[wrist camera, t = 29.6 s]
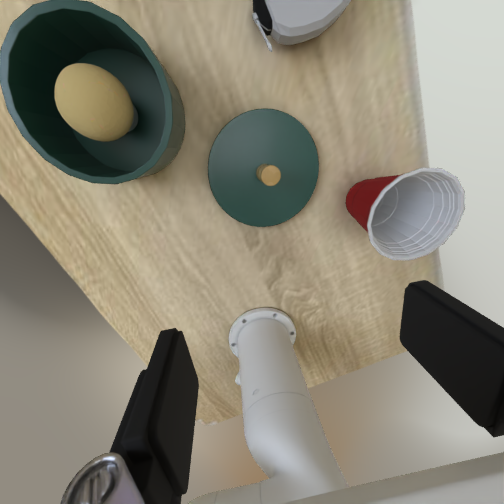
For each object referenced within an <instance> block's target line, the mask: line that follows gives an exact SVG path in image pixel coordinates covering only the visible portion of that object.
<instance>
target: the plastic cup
mask: <svg viewBox="0 0 504 504" xmlns="http://www.w3.org/2000/svg"><path fill="white" fill-rule="evenodd" d="M346 207H347V210H348V211H349V213H350V214H351V215H352V216H353V217H354V218H355V219H356V220H357V222H358V223H359V224H360V225H361V226H362V227H363V228H364V229H365V230H366V231H367V232H368V234H369V239H370V242H371V244H372V245H373V246H374V247H375V249H376V250H377V251H378V252H379V254H381V255H383V256H385V257H388V258H390V259H392V260H413V259H416V258H419V257H422V256H425V255H428V254H429V253H431V252H432V251H434V250H435V249H437V248H438V247H440V246H441V245H443V244H444V243H445V242H446V241H447V240H448V238H449V237H450V236H451V235H452V233H453V232H454V231H455V230H456V229H457V227H458V225H459V222H460V220H461V217H462V215H463V212H464V210H465V191H464V189H463V188H462V186H461V184H460V182H459V180H458V178H457V177H456V176H454V175H452V174H451V173H449V172H447V171H445V170H444V169H442V168H419V169H416V170H414V171H411V172H408V173H406V174H402V175H397V176H388V177H379V178H375V179H367V180H363V181H361V182H359V183H356V184H355V185H354V186H353V187H352V188H351V189H350V191H349V192H348V194H347V197H346Z"/></svg>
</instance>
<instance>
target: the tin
mask: <svg viewBox="0 0 504 504" xmlns="http://www.w3.org/2000/svg"><path fill="white" fill-rule="evenodd" d="M77 63H86V64H92V65H95V66H98V67H101V68H103V69H104V70H106V71H108V72H110V73H111V74H112V75H113V76H115V77H116V78H117V79H118V80H119V81H120V82H121V83H122V84H123V86H124V87H125V89H126V90H127V92H128V94H129V96H130V98H131V101H132V104H133V105H134V106H135V108H136V110H137V113H138V123H137V126H136V127H135V128H134V129H133V130H131V131H129V132H127V133H126V134H125V135H124V136H122V137H121V138H119V139H117V140H114V141H105V142H103V141H97V140H94V139H90V138H88V137H86V136H84V135H82V134H80V133H79V132H77V131H76V130H75V129H73V128H72V127H71V126H70V125H69V124H68V123H67V122H66V121H65V120H64V119H63V117H62V116H61V114H60V112H59V111H58V108H57V106H56V102H55V84H56V80H57V78H58V76H59V74H60V73H61V71H62V70H63V69H64V68H65V67H67V66H69V65H72V64H77ZM0 84H1V88H2V91H3V95H4V99H5V102H6V106H7V109H8V112H9V113H10V115H11V117H12V119H13V120H14V122H15V124H16V125H17V127H18V129H19V131H20V132H21V134H22V136H23V137H24V138H25V139H26V140H27V141H28V143H29V144H30V145H31V146H32V147H33V148H34V149H35V150H36V151H37V152H38V153H39V154H40V155H41V156H42V157H43V158H44V159H45V160H46V161H48V162H49V163H51V164H53V165H54V166H56V167H57V168H59V169H60V170H62V171H63V172H65V173H66V174H68V175H70V176H73V177H76V178H79V179H82V180H85V181H88V182H91V183H101V184H119V183H123V182H126V181H130V180H133V179H137V178H141V177H144V176H148V175H151V174H155V173H157V172H159V171H160V170H162V169H163V168H165V167H166V166H167V165H168V164H170V163H171V161H172V160H173V159H174V158H175V156H176V155H177V153H178V151H179V150H180V147H181V144H182V142H183V138H184V133H185V114H184V108H183V104H182V101H181V98H180V95H179V92H178V89H177V87H176V86H175V84H174V83H173V81H172V80H171V78H170V76H169V75H168V73H167V72H166V70H165V69H164V67H163V66H162V64H161V63H160V61H159V60H158V59H157V57H156V56H155V54H154V53H153V51H152V50H151V48H150V47H149V45H148V44H147V43H146V41H145V40H144V39H143V38H142V37H141V36H140V35H139V34H138V33H137V32H136V31H135V30H134V29H132V28H131V27H130V26H129V25H128V24H127V23H126V22H125V21H124V20H123V19H122V18H121V17H119V16H117V15H115V14H113V13H111V12H109V11H107V10H105V9H103V8H101V7H99V6H97V5H95V4H93V3H91V2H88V1H80V0H49V1H45V2H41V3H38V4H34V5H32V6H31V7H29V8H28V9H27V10H26V11H25V12H24V13H23V14H22V15H20V16H19V17H18V18H17V19H16V20H15V21H14V22H13V23H12V24H11V26H10V28H9V30H8V33H7V35H6V37H5V40H4V42H3V44H2V47H1V50H0Z"/></svg>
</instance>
